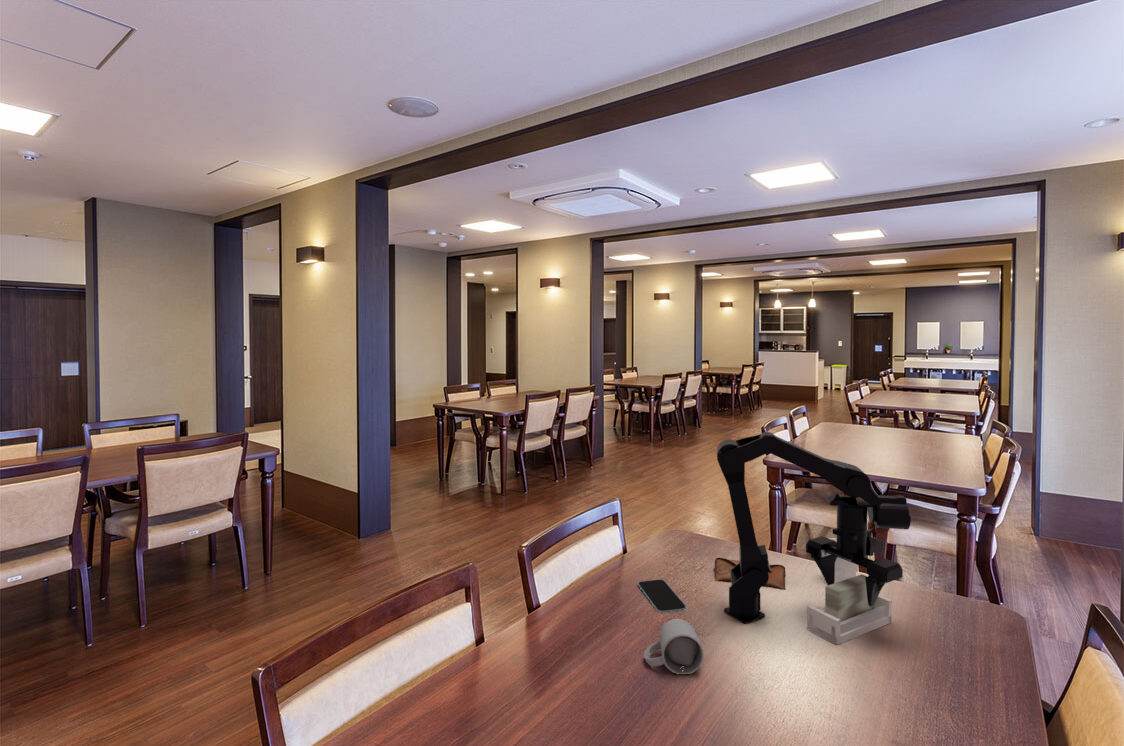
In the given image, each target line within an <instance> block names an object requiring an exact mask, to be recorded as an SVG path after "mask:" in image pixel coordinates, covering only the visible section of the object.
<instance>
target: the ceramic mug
mask: <svg viewBox="0 0 1124 746" xmlns="http://www.w3.org/2000/svg"><path fill="white" fill-rule="evenodd" d="M660 650H661V655H660V656H657V657H653V658H651V656H652V655H653V654H654V653H655V652H657V651H660ZM643 657H644V660H645V662H646V664H647V663H648V664H649V665H651V666H650V667H652V666H653V667H656V668H657V667H660V666H663V665H664V666H665V668H667V669H668V671H670V672H672V673H673V674H675V673H676V675H679V674H689V675H691V674H693V673H695V672H697V671H698V670H699V668H700V667H701V665H702V664H703V661H704V649H703V646H702V644H701V642H700V639H699V636H698V633H697V632H696V630H695V628H694V626H693V625H691V624H690V623H689V622H688V621H686V620H685V619H682V618H672V619H670V620H668V621H666V622H665V623H664V624H663V625H662V627H661V629H660V633H659V640H658V641H656V642H655V643H654V642H653V643H652V644H650V645H649V646H648V647H647V648H646V649H645V651H644V653H643ZM648 664H647V665H648ZM649 665H648V666H649ZM682 666H684V667H682ZM653 667H652V668H653ZM681 667H682V668H681ZM680 668H681V669H680ZM683 668H684V669H683ZM682 670H684V671H683V672H682Z"/></svg>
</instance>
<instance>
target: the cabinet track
mask: <svg viewBox="0 0 1124 746" xmlns="http://www.w3.org/2000/svg"><path fill="white" fill-rule="evenodd" d="M892 605H893V601H892V599H890V598H888V597H885V596H883V595H880V594H879V595H878V597H877V600H876V602H875V604H874V609H873V610H870V611H868V612H865V613H863V614H860V615H857V616H855V617H852V618H850V619H847V620H844V621H842V622H840V619H838V618H836V617H834V616H832V615H830V614H828V613H825V608H823V609H819V608H817V607H815V606H814V605H812V604H810V605H807V607H806V608H807V613H806V614H807V615H806V618H807V621H806V622H807V623H806V629H807V630H808V631H810V632H811V633H814V634H816V635H818V636H819V637H820V638H824V640H827V641H828V642H831V643H833V644H834V645H836V646H838V645H841V644H844V643H845V642H848V641H850V640H852V639H855V638H857V637H860V636H862V635H865V634H867V633H869V632H872V631H874V630H876V629H880V628H882V627H883V626H887V625H889V624H891V623H892V611H893V610H892V609H893V607H892Z"/></svg>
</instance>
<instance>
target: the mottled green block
mask: <svg viewBox="0 0 1124 746" xmlns="http://www.w3.org/2000/svg"><path fill="white" fill-rule="evenodd" d="M865 577H868V576H867V575H865V574H858V575H856V576H855V577H852V578H849V579H846V580H843V581H840V582H837V583H834V584H831V585H826V586H825V588H824V589H825V596H824V597H825V598H824V602H825V603H824V604H825V605H824V607H825V608H824V609H825V613H828V614H830V615H832V616H834V617H836V618H838V619H840V622H842V621H844V620H847V619H850V618H852V617H855V616H857V615H860V614H863V613H865V612H868V611H870V610H873V609H874V605H873V606H871V607H870V606H869V604H868V600H867V590H866V580H865Z"/></svg>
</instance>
